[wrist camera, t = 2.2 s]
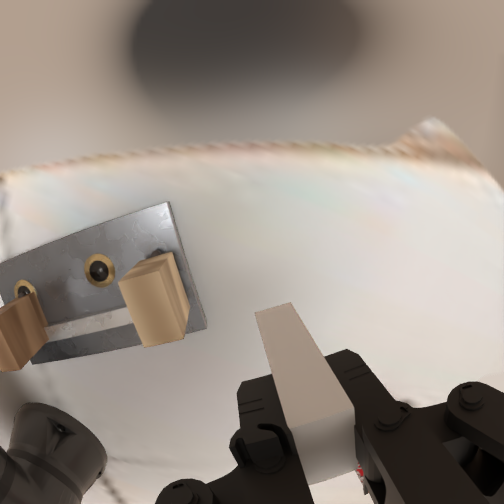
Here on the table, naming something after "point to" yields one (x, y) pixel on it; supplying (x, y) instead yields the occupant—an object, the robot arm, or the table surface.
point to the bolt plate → (96, 282)
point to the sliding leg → (156, 299)
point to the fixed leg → (21, 331)
